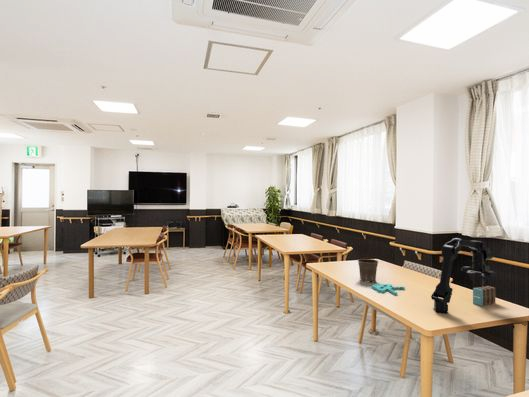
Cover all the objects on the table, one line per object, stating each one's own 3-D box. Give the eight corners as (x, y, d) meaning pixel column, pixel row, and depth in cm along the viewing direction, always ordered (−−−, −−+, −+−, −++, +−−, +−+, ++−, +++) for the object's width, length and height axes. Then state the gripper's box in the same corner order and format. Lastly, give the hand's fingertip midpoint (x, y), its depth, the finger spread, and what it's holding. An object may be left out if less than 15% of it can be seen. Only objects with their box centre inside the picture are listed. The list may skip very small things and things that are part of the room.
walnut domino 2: (489, 304, 201) (489, 288, 201) (481, 302, 205) (481, 286, 205) (491, 304, 201) (491, 288, 201) (483, 301, 206) (483, 286, 206)
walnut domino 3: (493, 303, 202) (493, 288, 202) (485, 301, 207) (485, 286, 207) (495, 303, 203) (495, 287, 203) (487, 300, 207) (487, 285, 207)
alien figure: (404, 289, 234) (377, 285, 247) (404, 286, 234) (377, 282, 247) (396, 296, 219) (368, 290, 231) (396, 293, 219) (368, 287, 231)
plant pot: (378, 283, 249) (378, 263, 249) (357, 281, 255) (357, 261, 255) (378, 278, 265) (378, 259, 265) (358, 277, 270) (358, 258, 270)
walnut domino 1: (485, 305, 199) (485, 289, 199) (477, 302, 204) (477, 287, 204) (487, 304, 200) (487, 289, 200) (479, 302, 204) (479, 287, 204)
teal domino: (480, 306, 198) (480, 290, 198) (472, 303, 202) (472, 288, 202) (482, 305, 198) (482, 289, 198) (475, 303, 203) (475, 287, 203)
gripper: (501, 262, 195) (501, 287, 195) (472, 257, 212) (472, 280, 212) (489, 263, 190) (489, 289, 190) (460, 258, 208) (460, 281, 208)
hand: (477, 285), depth 200 cm, fingers open, 5 cm apart
